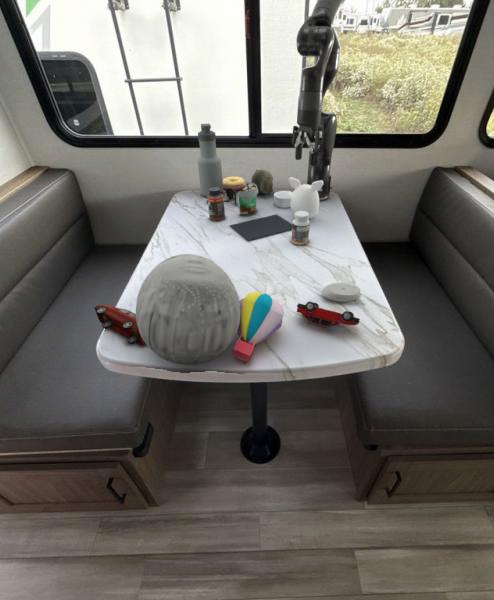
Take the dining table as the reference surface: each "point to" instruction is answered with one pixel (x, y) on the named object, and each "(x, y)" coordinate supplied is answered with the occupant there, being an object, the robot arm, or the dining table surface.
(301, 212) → the pill bottle
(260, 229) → the placemat
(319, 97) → the robot arm
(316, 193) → the piggy bank
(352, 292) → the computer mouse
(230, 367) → the dining table surface
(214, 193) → the supplement bottle
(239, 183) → the doughnut
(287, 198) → the ramekin
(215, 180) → the water bottle
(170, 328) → the sculpture
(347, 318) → the toy car
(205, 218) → the dining table surface
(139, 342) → the toy car
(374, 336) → the dining table surface
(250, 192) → the food container
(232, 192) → the sunglasses
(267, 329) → the hot air balloon
